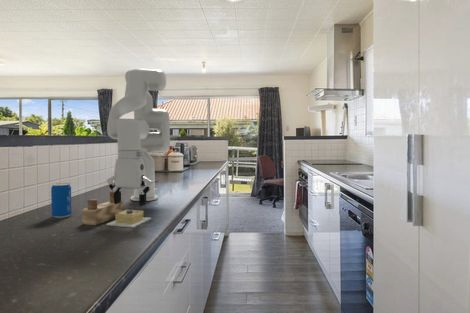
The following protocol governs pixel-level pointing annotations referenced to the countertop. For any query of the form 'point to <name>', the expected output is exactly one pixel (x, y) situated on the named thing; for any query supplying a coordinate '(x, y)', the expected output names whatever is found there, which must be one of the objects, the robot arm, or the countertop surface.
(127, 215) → the lever cap
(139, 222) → the mat
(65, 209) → the beverage can
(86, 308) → the countertop surface
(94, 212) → the plane body
